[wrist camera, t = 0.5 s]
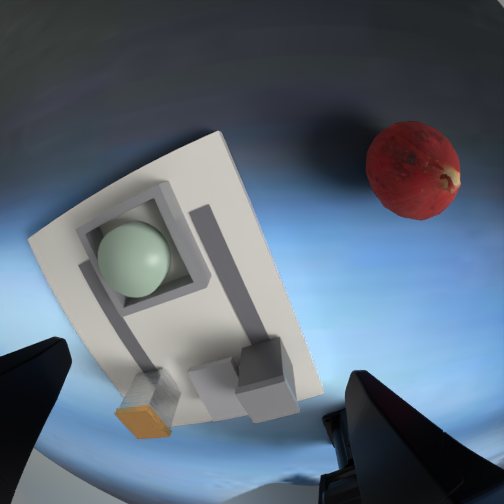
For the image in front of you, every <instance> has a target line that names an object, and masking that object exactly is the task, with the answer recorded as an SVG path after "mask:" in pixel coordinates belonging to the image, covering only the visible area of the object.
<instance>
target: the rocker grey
mask: <svg viewBox="0 0 504 504" xmlns="http://www.w3.org/2000/svg"><path fill="white" fill-rule="evenodd" d="M187 374H188V376H189V377H190V379H191V381H192V383H193V385H194V387H195V389H196V391H197V392H198V394H199V396H200V398H201V400H202V402H203V403H204V405H205V407H206V409H207V410H208V412H209V414H210V416H211V417H212V419H213V421H214V422H216V421H221V420H227V419H232V418H237V417H242V416H247V415H248V414H247V412H246V411H245V409H244V408H243V406H242V405H241V403H240V402H239V400H238V399H237V397H236V396H235V388H237V387H238V380H239V370H238V367H237V365H236V363H235V361H234V359H233V357H229V358H225V359H222V360H218V361H214V362H210V363H206V364H202V365H198V366H194V367H190V368H189V370H188V372H187Z"/></svg>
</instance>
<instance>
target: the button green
mask: <svg viewBox="0 0 504 504" xmlns="http://www.w3.org/2000/svg"><path fill="white" fill-rule="evenodd" d="M98 264H99V268H100V271H101V273H102V276H103V277H104V279H105V280H106V282H107V283H108V284H109V285H110V286H111V287H112V288H113V289H114V290H116V291H117V292H119V293H121V294H123V295H125V296H128V297H144V296H147V295H149V294H151V293H152V292H153V291H155V290H156V289H157V287H158V286H159V285H160V283H161V282H162V281H163V279H164V278H165V277H166V275H167V273H168V271H169V269H170V265H171V251H170V247H169V245H168V242H167V240H166V239H165V237H164V236H163V234H162V233H161V232H160V231H159V230H158V229H157V228H155V227H154V226H152V225H150V224H148V223H145V222H142V221H130V222H127V223H124V224H122V225H121V226H119V227H117V228H115V229H114V230H112V231H110V232H109V233H108V234H107V235H106V236H105V237H104V238H103V239H102V241H101V243H100V246H99V249H98Z"/></svg>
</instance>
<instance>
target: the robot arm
mask: <svg viewBox="0 0 504 504" xmlns="http://www.w3.org/2000/svg"><path fill="white" fill-rule="evenodd" d="M71 364H72V358H71V355H70V351H69V348H68V345H67V342H66V340H65V339H63V338H60V337H52V338H49V339H46V340H44V341H41V342H38V343H36V344H33V345H30V346H28V347H25V348H22V349H20V350H17V351H14V352H11V353H9V354H6V355H3V356H1V357H0V504H11V502H12V499H13V496H14V493H15V490H16V488H17V485H18V483H19V480H20V478H21V475H22V473H23V470H24V468H25V466H26V463H27V461H28V459H29V456H30V454H31V452H32V450H33V448H34V445H35V443H36V441H37V439H38V437H39V435H40V433H41V431H42V429H43V426H44V424H45V422H46V420H47V418H48V416H49V414H50V412H51V410H52V409H53V407H54V405H55V403H56V401H57V398H58V396H59V394H60V391H61V389H62V386H63V384H64V381H65V379H66V377H67V374H68V372H69V369H70V367H71ZM345 403H346V409H344V410H341V411H338V412H335V413H332V414H328V415H326V416H324V417H323V418H322V420H323V423H324V426H325V428H326V430H327V433H328V435H329V437H330V440H331V442H332V444H333V447H334V448H335V450H336V455H337V461H338V466H339V470H337V471H334V472H332V473H329V474H323V475H321V478H320V484H319V501H318V504H504V469H502V468H500V467H499V466H497V465H495V464H493V463H492V462H490V461H488V460H486V459H485V458H483V457H481V456H479V455H478V454H476V453H475V452H473V451H471V450H470V449H468V448H467V447H465V446H464V445H462V444H461V443H459V442H458V441H457V440H455V439H454V438H452V437H451V436H450V435H449V434H447V433H446V432H443V430H442V429H441V428H439V427H438V426H437V425H435V424H434V423H433V422H431V421H430V420H429V419H428V418H426V417H425V416H424V415H422V414H421V413H420V412H418V411H417V410H416V409H415V408H413V407H412V406H411V405H409V404H408V403H407V402H406V401H404V400H403V399H402V398H401V397H399V396H398V395H397V394H395V393H394V392H393V391H392V390H390V389H389V388H388V387H387V386H385V385H384V384H383V383H382V382H380V381H379V380H378V379H376V378H375V377H374V376H373V375H371V374H370V373H369V372H368V371H366V370H354V371H352V373H351V375H350V378H349V381H348V384H347V387H346V391H345Z"/></svg>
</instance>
